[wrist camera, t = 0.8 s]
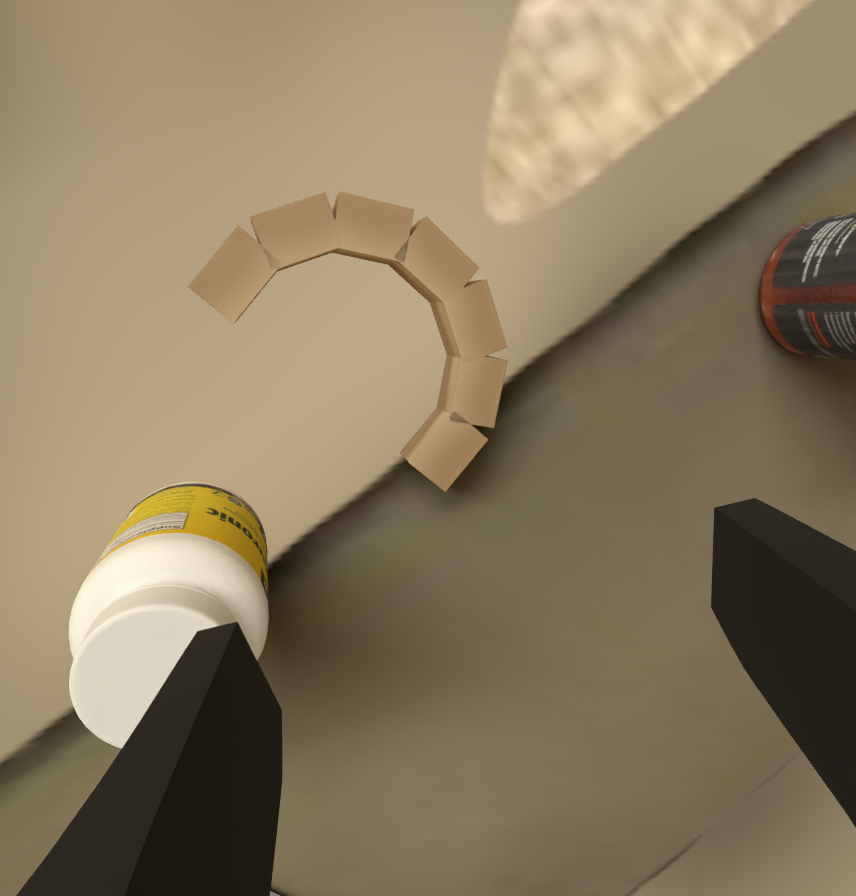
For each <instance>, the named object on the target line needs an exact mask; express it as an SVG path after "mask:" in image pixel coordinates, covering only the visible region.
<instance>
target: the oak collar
mask: <svg viewBox="0 0 856 896" xmlns="http://www.w3.org/2000/svg"><path fill="white" fill-rule="evenodd" d="M413 213H414V210H413V209H409V208H405V207H401V206H397V205H393V204H389V203H384V202H381V201H376V200H372V199H368V198H364V197H360V196H356V195H352V194H348V193H343V192H339V194H338V195H337V196H336V198H335V199H334V201H333V208H332V210H331V207H330V205H329V202H328V199H327V196H326V193H325V192H324V193H321V194H318V195H315V196H312V197H309V198H306V199H303V200H300V201H297V202H294V203H291V204H288V205H285V206H281V207H278V208H275V209H272V210H269V211H266V212H264V213H260V214H257V215H254V216H251V217H250V218H251V224H252V227H253V229H254V232H255V235H256V237H257V240H258V242H259V243H258V242H257V241H256V240H255V239H253V238H252V237H251V236H250V235H249V234H248V233H246V232H245V231H244V230H243V229H242V228H241V227H239V226H237V227H236V228H235V230H234V231H233V232H232V233H231V234H230V236H229V237H228V238H227V239H226V241H225V242H224V243H223V244H222V246H221V247H220V248H219V249H218V250H217V252H216V253H215V254H214V256H213V257H212V258H211V259H210V260H209V261H208V263H207V264H206V266H204V268H203V269H202V270H201V271H200V273H199V274H198V275H197V276H196V277H195V279H194V280H193V281H192V282H191V284H190V285H189V286H188V287H189V288H190V289H191V290H192V291H194V292H195V293H196V294H197V295H199V296H200V297H201V298H202V299H204V300H205V301H206V302H207V303H209V304H210V305H211V306H213V307H214V308H215V309H216V310H217V311H219V312H220V313H221V314H222V315H224V316H225V317H226V318H228V319H229V320H230V321H231V322H233V323H235V322H236V321H237V320H238V318H239V317H240V316H241V315H242V314H243V312H244V311H245V310H246V308H247V307H248V306H249V305H250V304H251V302H252V301H253V300H254V299H255V298H256V296H257V295H258V294H259V293H260V292H261V290H262V289H263V288H264V287H265V285H266V284H267V283H268V282H269V281H270V279H271V278H272V277H273V276H274V274H275V273H276V272H277V271H280V270H283V269H285V268H288V267H291V266H294V265H297V264H300V263H303V262H306V261H308V260H312V259H314V258H317V257H320V256H323V255H326V254H328V253H338V254H342V255H346V256H351V257H356V258H361V259H365V260H369V261H374V262H379V263H383V264H388V265H389V266H390V267H391V268H393V269H394V270H395V271H396V272H397V273H398V274H399V275H400V276H401V277H403V278H404V279H405V280H406V281H407V282H408V283H409V284H410V285H411V286H412V287H413V288H414V289H416V290H417V291H418V292H419V293H420V294H421V295H422V296H423V297H424V298H426V299H427V300H428V301H429V302H430V304H431V308H432V310H433V313H434V316H435V320H436V323H437V326H438V329H439V332H440V335H441V338H442V341H443V344H444V347H445V350H446V353H447V357H446V363H445V368H444V373H443V379H442V384H441V389H440V394H439V400H438V405H437V408H436V409H435V410H434V412H433V413H432V414H431V415H430V417H429V418H428V419H427V420H426V422H425V423H424V424H423V425H422V426H421V428H420V429H419V430H418V431H417V432H416V434H415V435H414V436H413V437H412V439H411V440H410V441H409V442H408V443H407V445H406V446H405V447H404V448H403V449H402V451H401V452H400V453H401V455H402V456H403V457H404V458H405V459H406V460H407V461H408V462H409V463H410V464H411V465H412V466H413V467H415V468H416V469H417V470H418V471H420V472H421V473H422V474H423V475H425V476H426V477H427V478H428V479H430V480H431V481H432V482H434V483H435V484H436V485H437V486H439V487H440V488H441V489H442V490H444V491H445V492H446V490H447V489H448V488H449V487H450V486H451V484H452V483H453V482H454V481H455V479H456V478H457V477H458V476H459V475H460V473H461V472H462V471H463V470H464V469H465V467H466V466H467V465H468V464H469V462H470V461H471V460H472V459H473V458H474V456H475V455H476V454H477V453H478V451H479V450H480V449H481V448H482V447H483V445H484V444H485V443H486V442H487V441H488V439H487V438H486V437H485V436H484V435H483V434H481V433H480V432H479V431H478V430H477V429H476V428H474V427H473V426H472V425H478V426H485V427H491V428H494V425H495V420H496V415H497V410H498V405H499V400H500V395H501V390H502V386H503V381H504V376H505V371H506V366H507V360H503V359H498V358H494V357H489V356H486V355H488V354H491V353H494V352H496V351H499V350H501V349H504V348H507V346H506V342H505V339H504V336H503V332H502V329H501V326H500V322H499V319H498V316H497V313H496V309H495V306H494V302H493V299H492V296H491V293H490V289H489V286H488V283H487V280H478V281H470V282H468V281H469V280H470V279H471V278H472V276H473V275H474V274H475V273H476V271H477V270H478V269H479V267H478V266H477V265H476V264H475V263H474V262H473V261H472V260H471V259H470V258H469V257H468V256H467V255H466V254H465V253H464V252H463V251H462V250H461V249H460V248H459V247H457V246H456V245H455V244H454V243H453V242H452V241H451V240H450V239H449V238H448V237H447V236H446V235H445V234H444V233H443V232H442V231H441V230H440V229H439V228H438V227H437V226H436V225H435V224H434V223H433V222H432V221H431V220H430V219H429V218H428V217H425V218H423V219H421V220H419V221H417V222H416V223H414V224H413V225H412V226H411V224H412V219H413Z"/></svg>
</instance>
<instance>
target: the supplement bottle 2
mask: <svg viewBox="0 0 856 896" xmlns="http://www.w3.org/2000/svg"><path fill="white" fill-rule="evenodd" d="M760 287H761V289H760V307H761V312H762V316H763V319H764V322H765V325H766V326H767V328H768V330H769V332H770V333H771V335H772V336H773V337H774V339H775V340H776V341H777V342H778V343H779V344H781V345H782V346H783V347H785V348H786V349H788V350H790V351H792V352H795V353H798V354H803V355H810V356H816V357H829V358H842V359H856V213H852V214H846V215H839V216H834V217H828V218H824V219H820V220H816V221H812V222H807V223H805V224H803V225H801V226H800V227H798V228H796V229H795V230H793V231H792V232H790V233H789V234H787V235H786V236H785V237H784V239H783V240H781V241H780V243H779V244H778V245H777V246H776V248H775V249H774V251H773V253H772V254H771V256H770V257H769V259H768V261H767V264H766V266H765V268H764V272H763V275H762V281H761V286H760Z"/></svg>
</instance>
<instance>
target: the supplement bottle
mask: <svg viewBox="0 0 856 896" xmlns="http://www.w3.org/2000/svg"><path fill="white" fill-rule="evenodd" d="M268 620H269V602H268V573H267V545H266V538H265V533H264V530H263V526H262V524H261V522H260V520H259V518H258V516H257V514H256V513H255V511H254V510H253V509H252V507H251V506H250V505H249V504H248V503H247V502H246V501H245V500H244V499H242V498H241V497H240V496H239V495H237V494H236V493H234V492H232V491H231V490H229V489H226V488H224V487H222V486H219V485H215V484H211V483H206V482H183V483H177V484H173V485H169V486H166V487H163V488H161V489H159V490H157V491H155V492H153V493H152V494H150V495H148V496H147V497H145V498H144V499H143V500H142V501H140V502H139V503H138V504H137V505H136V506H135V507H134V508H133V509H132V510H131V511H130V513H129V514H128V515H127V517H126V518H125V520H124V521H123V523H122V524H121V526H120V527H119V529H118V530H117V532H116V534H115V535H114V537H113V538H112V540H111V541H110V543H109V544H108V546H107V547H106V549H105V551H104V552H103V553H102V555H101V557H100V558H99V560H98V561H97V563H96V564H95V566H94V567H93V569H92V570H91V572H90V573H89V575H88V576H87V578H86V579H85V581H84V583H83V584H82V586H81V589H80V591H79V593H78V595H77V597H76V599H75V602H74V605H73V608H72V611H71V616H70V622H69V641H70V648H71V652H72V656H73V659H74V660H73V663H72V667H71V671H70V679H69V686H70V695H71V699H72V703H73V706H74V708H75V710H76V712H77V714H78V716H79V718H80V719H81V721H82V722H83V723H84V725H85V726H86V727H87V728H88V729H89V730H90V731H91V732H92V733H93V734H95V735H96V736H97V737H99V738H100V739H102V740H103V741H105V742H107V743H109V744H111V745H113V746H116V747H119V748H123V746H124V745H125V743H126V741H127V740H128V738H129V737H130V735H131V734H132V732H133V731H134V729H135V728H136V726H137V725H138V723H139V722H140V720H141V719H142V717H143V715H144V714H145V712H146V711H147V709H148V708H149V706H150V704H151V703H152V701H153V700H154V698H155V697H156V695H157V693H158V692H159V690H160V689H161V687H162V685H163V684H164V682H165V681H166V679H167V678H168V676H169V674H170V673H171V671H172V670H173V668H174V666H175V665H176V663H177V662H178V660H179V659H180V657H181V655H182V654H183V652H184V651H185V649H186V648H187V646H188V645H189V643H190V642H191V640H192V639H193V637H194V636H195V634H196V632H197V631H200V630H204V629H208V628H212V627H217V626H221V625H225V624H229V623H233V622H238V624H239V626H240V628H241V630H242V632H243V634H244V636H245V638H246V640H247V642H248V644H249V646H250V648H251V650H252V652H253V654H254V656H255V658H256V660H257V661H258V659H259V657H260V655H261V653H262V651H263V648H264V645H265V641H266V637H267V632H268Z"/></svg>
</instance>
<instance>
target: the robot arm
mask: <svg viewBox="0 0 856 896" xmlns="http://www.w3.org/2000/svg"><path fill="white" fill-rule="evenodd" d="M711 608H712V610H713V612H714V614H715V616H716V618H717V620H718V621H719V623H720V625H721V627H722V629H723V631H724V633H725V635H726V637H727V639H728V641H729V642H730V644H731V646H732V648H733V649H734V651H735V653H736V655H737V657H738V658H739V660H740V662H741V664H742V666H743V667H744V669H745V671H746V672H747V673H748V675H749V676H750V678H751V679H752V681H753V682H754V684H755V685H756V687H757V688H758V689H759V691H760V692H761V694H762V695H763V696H764V698H765V699H766V701H767V702H768V704H769V705H770V706H771V708H772V709H773V711H774V712H775V714H776V715H777V716H778V718H779V719H780V721H781V722H782V723H783V725H784V726H785V728H786V729H787V730H788V732H789V733H790V735H791V736H792V738H793V739H794V740H795V742H796V743H797V745H798V746H799V747H800V749H801V750H802V752H803V753H804V754H805V756H806V757H807V758H808V760H809V761H810V763H811V764H812V766H813V767H814V768H815V770H816V771H817V772H818V774H819V775H820V777H821V778H822V780H823V781H824V782H825V784H826V785H827V787H828V788H829V789H830V791H831V792H832V794H833V795H834V796H835V798H836V799H837V801H838V802H839V803H840V805H841V806H842V808H843V809H844V810H845V812H846V813H847V815H848V816H849V818H850V820H851V821H852V823H853V824H854V826H855V827H856V551H855V550H853V549H851V548H849V547H847V546H845V545H843V544H841V543H839V542H838V541H836V540H834V539H832V538H830V537H828V536H826V535H824V534H822V533H821V532H819V531H817V530H815V529H813V528H811V527H809V526H808V525H806V524H804V523H802V522H800V521H798V520H796V519H794V518H793V517H791V516H789V515H787V514H785V513H783V512H781V511H779V510H777V509H775V508H774V507H772V506H770V505H768V504H766V503H764V502H762V501H760V500H758V499H755V498H753V499H749V500H745V501H741V502H737V503H732V504H728V505H724V506H720V507H716V508H714V534H713V565H712V596H711ZM281 786H282V710H281V708H280V706H279V704H278V702H277V700H276V698H275V696H274V694H273V692H272V690H271V688H270V686H269V684H268V682H267V680H266V678H265V676H264V674H263V672H262V670H261V668H260V666H259V664H258V662H257V660H256V658H255V656H254V654H253V652H252V650H251V648H250V646H249V644H248V642H247V640H246V638H245V636H244V634H243V632H242V630H241V628H240V626H239V624H238V622H233V623H229V624H225V625H221V626H217V627H212V628H208V629H204V630H200V631H197V632H196V634H195V636H194V637H193V639H192V640H191V642H190V643H189V645H188V646H187V648H186V649H185V651H184V652H183V654H182V655H181V657H180V659H179V660H178V662H177V663H176V665H175V666H174V668H173V670H172V671H171V673H170V674H169V676H168V678H167V679H166V681H165V682H164V684H163V685H162V687H161V689H160V690H159V692H158V693H157V695H156V697H155V698H154V700H153V701H152V703H151V704H150V706H149V708H148V709H147V711H146V712H145V714H144V715H143V717H142V719H141V720H140V722H139V723H138V725H137V726H136V728H135V729H134V731H133V732H132V734H131V735H130V737H129V738H128V740H127V741H126V743H125V745H124V746H123V748H122V749H121V751H120V752H119V754H118V755H117V757H116V758H115V760H114V761H113V763H112V764H111V766H110V767H109V769H108V770H107V772H106V773H105V775H104V776H103V778H102V779H101V781H100V782H99V784H98V785H97V786H96V788H95V789H94V791H93V792H92V793H91V795H90V796H89V798H88V799H87V800H86V802H85V803H84V805H83V806H82V807H81V809H80V810H79V812H78V813H77V815H76V816H75V817H74V819H73V820H72V822H71V823H70V824H69V826H68V827H67V829H66V830H65V831H64V833H63V834H62V836H61V837H60V838H59V840H58V841H57V843H56V844H55V845H54V847H53V848H52V850H51V851H50V852H49V854H48V855H47V856H46V858H45V859H44V860H43V862H42V863H41V864H40V866H39V867H38V868H37V869H36V871H35V872H34V873H33V875H32V876H31V877H30V878H29V880H28V881H27V882H26V884H25V885H24V886H23V888H22V889H21V890H20V891H19V893H18V894H17V895H16V896H280V895H278V894H276V893H274V892H272V891H270V889H271V880H272V871H273V862H274V853H275V844H276V835H277V826H278V816H279V806H280V797H281Z"/></svg>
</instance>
